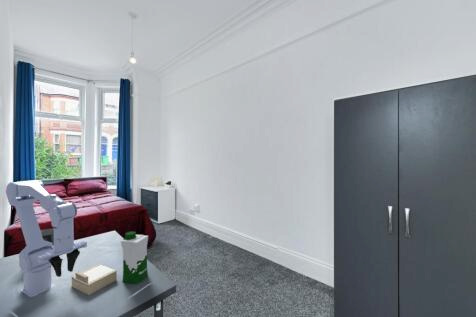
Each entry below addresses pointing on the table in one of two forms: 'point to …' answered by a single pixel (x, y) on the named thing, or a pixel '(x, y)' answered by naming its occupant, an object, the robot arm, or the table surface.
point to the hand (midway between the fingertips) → (64, 273)
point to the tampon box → (47, 236)
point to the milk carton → (134, 257)
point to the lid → (92, 274)
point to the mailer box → (95, 282)
